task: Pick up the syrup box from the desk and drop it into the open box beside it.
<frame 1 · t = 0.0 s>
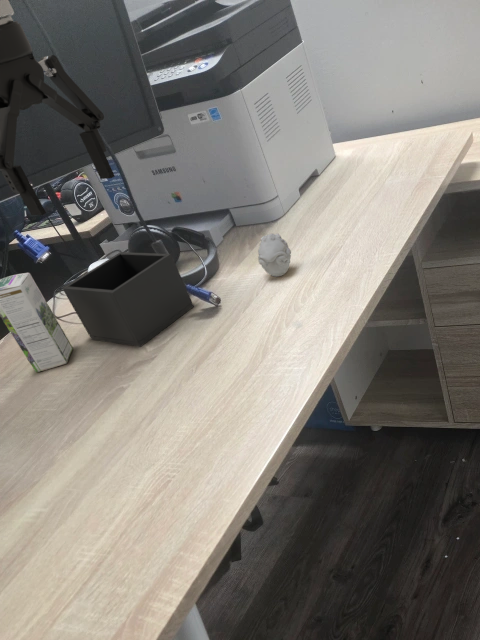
hand: (74, 195, 98), 23 cm above the table, tool pointing down, fingers open, 13 cm apart
grey decorated egg: (280, 275, 119), on the table
open box: (142, 322, 117), on the table
syrup box: (56, 361, 113), on the table
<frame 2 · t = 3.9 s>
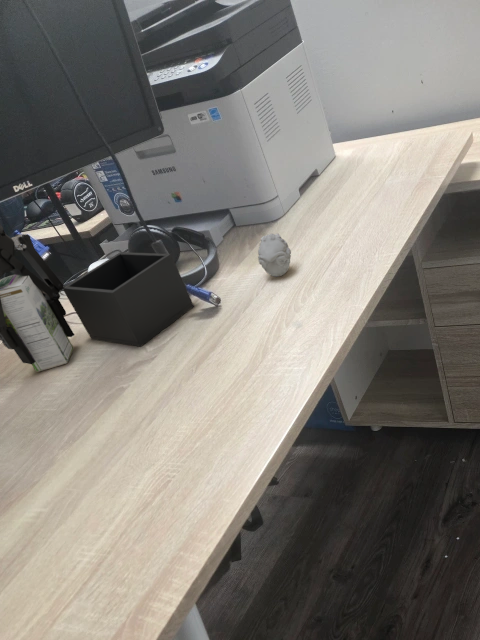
hand: (49, 348, 112), 2 cm above the table, tool pointing down, fingers closed on syrup box, 8 cm apart
syrup box: (57, 361, 113), on the table, touching gripper
everything else where it was.
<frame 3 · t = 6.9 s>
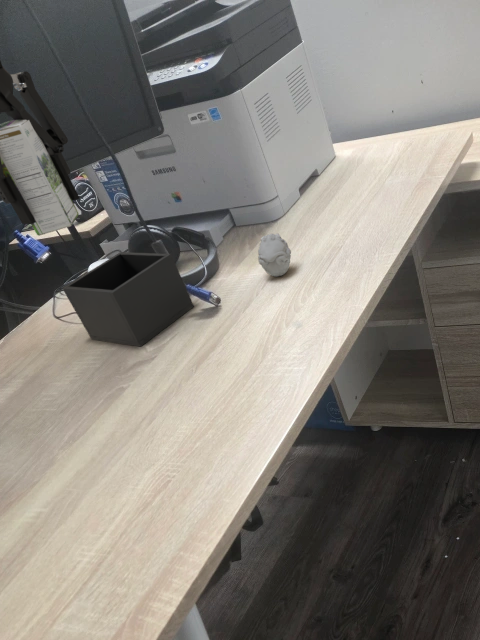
hand: (51, 210, 101), 22 cm above the table, tool pointing down, fingers closed on syrup box, 8 cm apart
syrup box: (60, 226, 103), point 19 cm above the table, touching gripper
everything else where it was.
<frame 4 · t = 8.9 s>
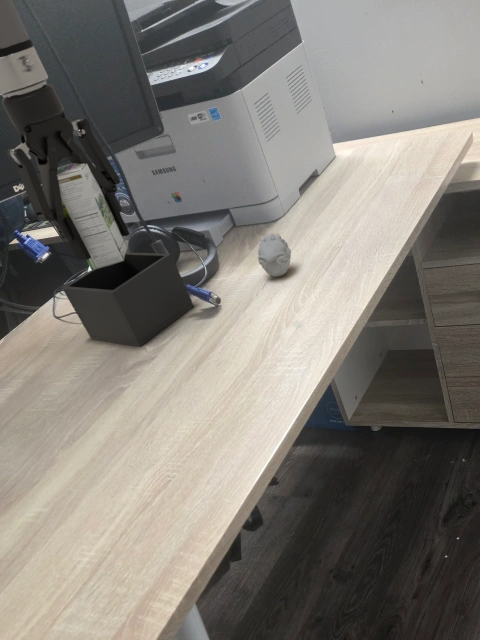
hand: (104, 246, 107), 14 cm above the table, tool pointing down, fingers closed on syrup box, 8 cm apart
syrup box: (111, 261, 109), point 12 cm above the table, touching gripper
everything else where it was.
when the fingers open (10 cm above the table, at t = 10.5 s): syrup box drops 7 cm, resting on open box.
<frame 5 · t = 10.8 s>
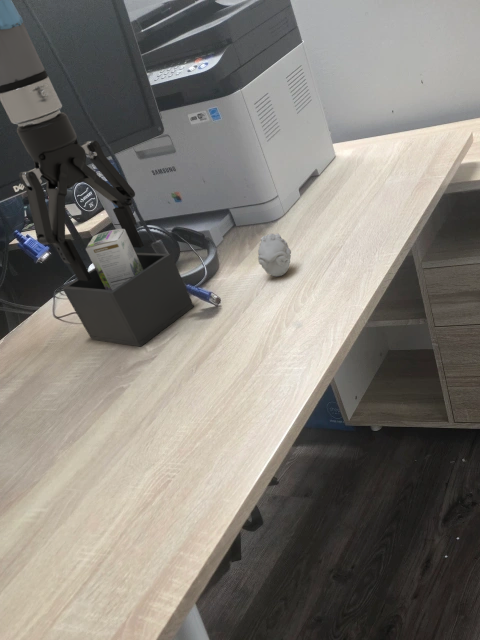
hand: (112, 262, 109), 11 cm above the table, tool pointing down, fingers open, 11 cm apart
syrup box: (144, 317, 117), point 1 cm above the table, touching open box
everything else where it was.
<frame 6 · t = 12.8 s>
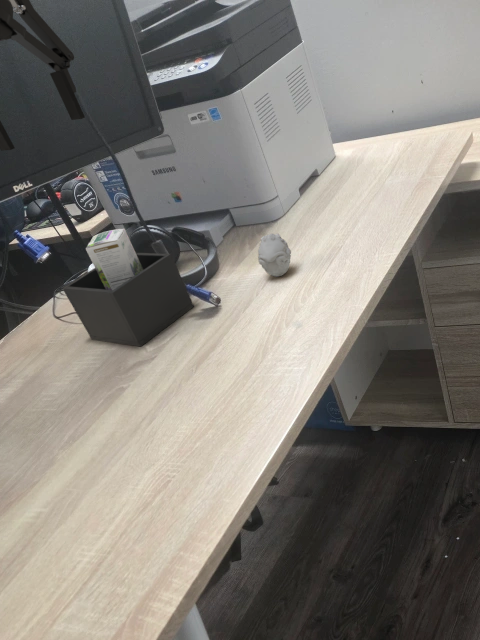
hand: (44, 133, 101), 31 cm above the table, tool pointing down, fingers open, 13 cm apart
nothing on the table moved.
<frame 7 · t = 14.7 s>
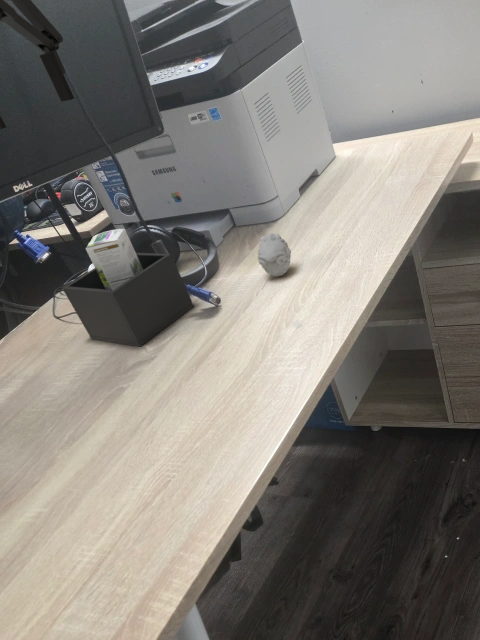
hand: (35, 114, 103), 33 cm above the table, tool pointing down, fingers open, 13 cm apart
nothing on the table moved.
at the end: syrup box inside the target area in the open box (0.8 cm from its centre), point 0.6 cm above the open box's base; the gripper is holding nothing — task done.
